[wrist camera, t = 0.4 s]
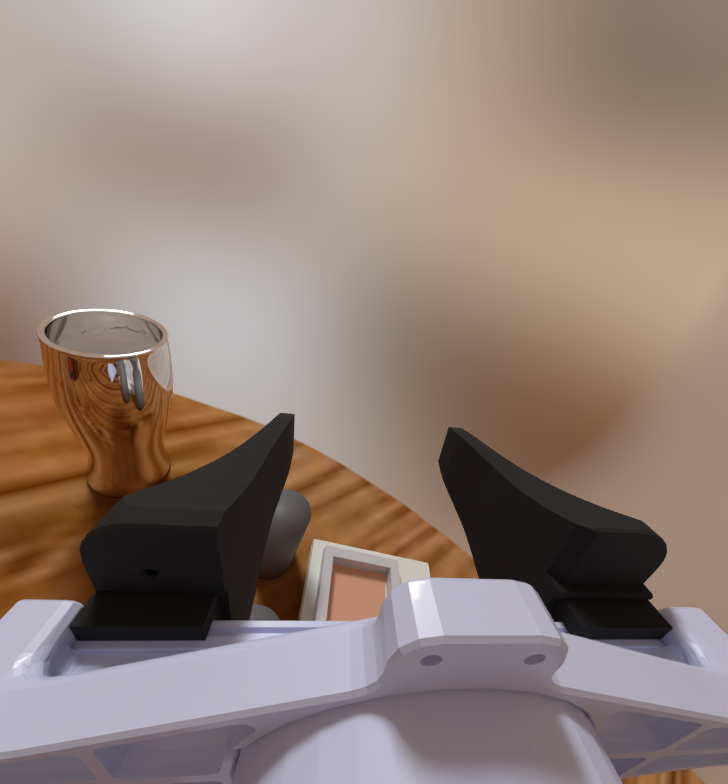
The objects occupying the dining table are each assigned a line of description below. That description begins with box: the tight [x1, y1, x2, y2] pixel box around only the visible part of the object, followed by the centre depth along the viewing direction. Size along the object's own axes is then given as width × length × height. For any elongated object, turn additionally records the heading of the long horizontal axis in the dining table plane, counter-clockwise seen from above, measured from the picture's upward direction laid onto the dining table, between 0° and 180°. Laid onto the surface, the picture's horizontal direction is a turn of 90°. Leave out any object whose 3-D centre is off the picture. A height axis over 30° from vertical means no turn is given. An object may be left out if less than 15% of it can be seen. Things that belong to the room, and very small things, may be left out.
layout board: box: [298, 539, 430, 621], centre depth 20 cm, size 17×12×2 cm
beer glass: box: [36, 309, 173, 497], centre depth 23 cm, size 7×7×15 cm
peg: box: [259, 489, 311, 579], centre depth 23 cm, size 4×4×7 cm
